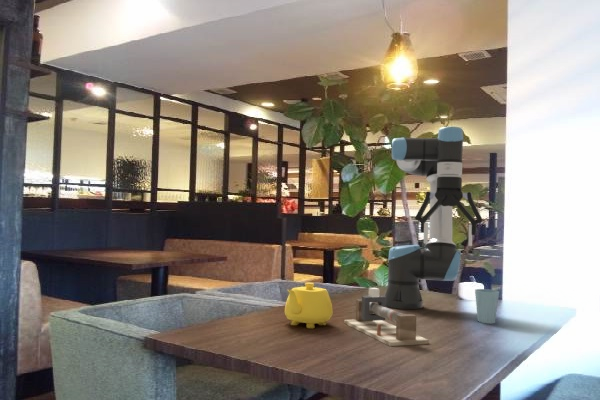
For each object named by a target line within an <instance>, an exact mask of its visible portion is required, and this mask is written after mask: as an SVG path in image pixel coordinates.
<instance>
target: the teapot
mask: <svg viewBox="0 0 600 400" xmlns="http://www.w3.org/2000/svg"><path fill="white" fill-rule="evenodd" d="M304 285H305V286H297V287H293V288H291V289H286V291H288V296H287V299H286V303H285V306H284V315H285V317H286V318H287V320H289V321H290V323H289V324H290V325H291V326H298V325H299V324H300V323H303V324H304V323H305V324H306V327H305V328H306V329H315V324H317V325H319V326H326V325H327V323H326V322H328V321H330V319H331V318H332V317H333V313H334V312H333V305H332V300H331V297H330V294H329V292H328V290H327V289H326V288H322V287H317V286H315V283H314V282H305V283H304ZM314 286H315V287H314Z"/></svg>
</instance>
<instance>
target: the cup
mask: <svg viewBox="0 0 600 400" xmlns="http://www.w3.org/2000/svg"><path fill="white" fill-rule="evenodd" d="M474 294H475V304H476V305H475V306H476V316H477V322H478V321H479V322H478V323H483V324H496V316H497V310H498V304H499V303H498V302H499V297H500V291H499V290H496V289H495V290H494V289H488V288H487V289H486V288H485V289H484V288H479V289H474Z"/></svg>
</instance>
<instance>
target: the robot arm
mask: <svg viewBox="0 0 600 400" xmlns="http://www.w3.org/2000/svg"><path fill="white" fill-rule="evenodd" d="M463 143H464V131H463V128H462V127H459V126H443V127H440V128H439V129H438V134H437V137H424V138H423V137H420V138H419V137H395V138H393V139H392V141H391V159H392V160H394V161H396V165H397V167H398V169H399V170H401V171H403V172H404V173H407V174H409V175H412V176H417V177H419V176H420V177H421V176H422V177H426V178H425V179H426V182H428V183H429V191H426V193H425V199H424V200H423V202H422V203H421V205H420V208H419V210H418V212H417V213H416V216H415V217H414V220H415V221H418V222H420V233H422V234H423V244H424V245H425V246H424V248H421V247H420V245H419V244H407V245H397V246H393V247H390V249H389V250H388V258H387V261H388V269H387V273H388V274H387V285H386V286H387V287H386V288H385V293H384V294H383V296H384V297H386V308H391V309H392V308H394V309H399V310H400V309H401V310H402V309H403V310H416V309H417V310H418V309H419V310H420V309H422V308H423V305H424V300H423V298H422V297H423V296H422V294H421V290H420V287H419V285H420V284H419V280H424V281H425V280H427V281H443V282H445V281H447V282H449V281H450V282H451V281H452V282H453V281H456V280H457V278H458V274H459V271H460V266H461V265H460V264H461V256H462V255H461V253H462V252H461V250H459V249H457V244H456V243H455V242H454V241H453V207H455V206H456V207H457V208H458V209H459V210H460V211H461V213H462V214H463V215H464V216H465V217H466V218H467V219H468V221H469V222H470V223H471V224H468V244H467V245H468V247H472V246H473V236H475V235H477V225H479V224H480V223H482V222H483V221H484V219H483V218H482V216H481V213H480V212H479V210H478V208H477V205H476V204H475V201H474V198H473V192H471V191H469V192H464V193H463V192H462V191H463V190H462V189H463V188H462V187H463V186H462V185H463V184H462V183H463V179H462V177H461V176H462V175H463V147H464V144H463ZM463 198H464V199H465V200H466V201H467V202H468V204H469V206H470V208H471V210H472V212H473V214H474V217H475V218H476V219H475V218H474V217H473V216H472V215H471V213H470V212H469V211H468V209H466V208H465V206H464V204H463V203H461V200H462V199H463ZM428 205H429V210H427V212H426V213H425V211H426V209H427V207H428ZM424 213H425V214H424ZM428 220H429V222H427V221H428ZM428 237H429V239H428Z"/></svg>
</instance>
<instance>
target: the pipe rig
mask: <svg viewBox="0 0 600 400" xmlns="http://www.w3.org/2000/svg"><path fill="white" fill-rule="evenodd" d="M361 306H362V298H361V299H355V319H343V323H344V324H345V325H347V326H349V327H351V328H352V329H355V330H357V331H360V332H361V333H363V334H365V335H367V336H369V337H371V338H373V339H374V340H377V341H379V342H381V343H383V344H385V345H387V346H389V347H398V346H413V345H428V344H430V339H428V338H425V337H423V336H421V335H418V334H417V315H415V314H413V313H412V314H411V313H410V314H409V313H408V314H405V313H402V312H400V311H398V310H394V309H392V308H390V307H387V306H386V307H383V306H381V305H378V303H376V302H370V308H369V314H376V315H378V316H381V317H383V318H385V320H373V321H364V320H362V319H361ZM386 320H388V321H391V322H393V323H395V325H394V324H392V323H389V322H387V321H386Z"/></svg>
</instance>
